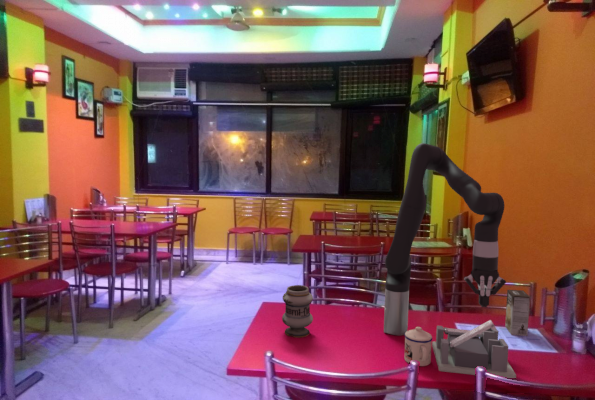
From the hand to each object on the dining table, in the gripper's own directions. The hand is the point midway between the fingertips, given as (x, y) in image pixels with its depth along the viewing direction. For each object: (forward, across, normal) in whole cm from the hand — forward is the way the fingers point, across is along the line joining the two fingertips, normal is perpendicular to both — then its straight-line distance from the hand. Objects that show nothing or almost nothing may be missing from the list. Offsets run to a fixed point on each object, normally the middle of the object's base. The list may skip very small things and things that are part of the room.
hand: (483, 306), depth 137 cm
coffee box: (+21, +22, +36) cm, 47 cm away
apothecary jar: (+20, -65, +16) cm, 69 cm away
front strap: (+10, -3, -2) cm, 11 cm away
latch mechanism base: (+20, -3, +4) cm, 21 cm away
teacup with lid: (+20, -20, -1) cm, 29 cm away
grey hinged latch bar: (+15, -3, +10) cm, 18 cm away
